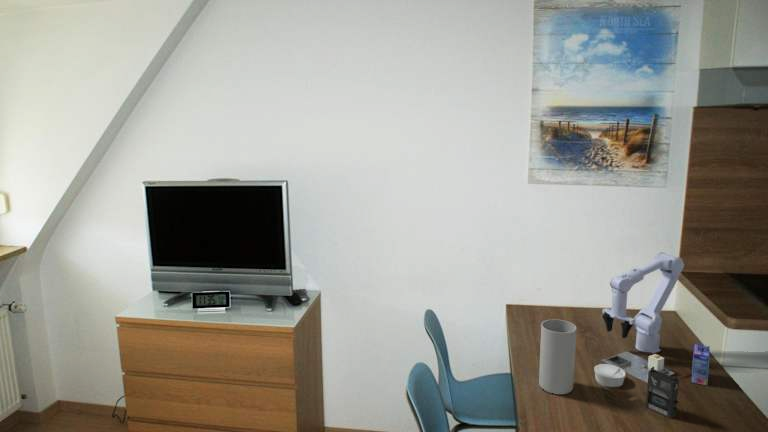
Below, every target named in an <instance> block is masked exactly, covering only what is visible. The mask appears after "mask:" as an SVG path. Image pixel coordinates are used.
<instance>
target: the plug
mask: <svg viewBox="0 0 768 432" xmlns="http://www.w3.org/2000/svg"><path fill="white" fill-rule="evenodd" d="M647 361H648V369H649V370H651V368H652V367H654V369H655V370H656V371H658V372H662V371H663V367H664V368H665V357H663V356H660V354H657V353H653V354H651V355H649V356H648V359H647Z"/></svg>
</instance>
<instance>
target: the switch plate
mask: <svg viewBox="0 0 768 432" xmlns="http://www.w3.org/2000/svg"><path fill="white" fill-rule="evenodd" d="M601 361H602V362H603V363H605V364H611V365H615V366H617V367H620V368H621V369H623V370H624V371H625V373H627V374H628V375H630V376H632V377H634V378H636V379H639V380H641V381H642V382H644V383H646V384H648V372H649V371H650V370H649V369H648V359H645V358H643V357H640V356H639V355H636V354H633V353H632V352H630V351H623V352H621V353H618V354H615V355H612V356H608V357H606V358H603V359H601ZM661 373H663V374H666V375H669V376H671V375H674V374H676V373H675V372H674V371H672V370H670V369H668V368H665V366H664V367H663V371H662V372H661Z"/></svg>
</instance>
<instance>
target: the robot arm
mask: <svg viewBox="0 0 768 432" xmlns="http://www.w3.org/2000/svg"><path fill="white" fill-rule="evenodd" d="M684 267H685V263H684V261H683V259H682V258H681V257H678V256H674V255H671V254H668V253H666V252H659V253H657V254H655V255H654V256H653V258H652V259H651V260H649V262H647V263H645V264H644V265H642V266H640V267H632V268H630V270H628V271H627V272H625V273H622V274H621V275H615V276H613V277H612V278H611V280H610V281H609V286H610V288H611V292H612V294H611V306H610V307H611V308H610V309H609V308H606V307H605V308H602V312H601V313H602V314H603V315H602V319H603V320H604V321H603V322H604V323H605V326H606V331H607V332H611V331H612V330H613V325H614V324H613V323H614V320H615V319H619V320H621V321H623V322H621V323H620V326H621V330H622V333H621V336H622V339H626V338H627V337H628V335H629V332H630V330H631V328H633V327H635V330H636V336H635V337H636V339H635V349H636V350H638V351H640V352H644V353H651V354H657V353H659V352H661V350H662V349H660V339H661V335H660V334H659V333H660V329H661V326H662V322H663V318H662V317H661V313H662V310H663V308H664V306H665V305H666V302H667V300H668V299H669V297H670V295H671V293H672V291H673V290H674V288H675V286H676V283H677V282H678V281H679V278H680V275H681V273H682V271H683V269H684ZM657 270H659V271H660V272H661V274H662V278H661V280H660V282H659V283H658V285H657V288H656V289H655V292H654V293H653V295H652V297H651V299H650V300H649V303H648V304H647V306H646V308H642V309H640V310H639V312H638V313H637V314H636V315H635V316H634V318H633V317H631V316H630V315H628V314H627V303H628V293H629V291H631V289H632V287H633V286H634V285H636V284H638V283H640V282H641V281H643V280H644V277H645V276H646V275H649V274H650V273H653V272H655V271H657Z"/></svg>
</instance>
